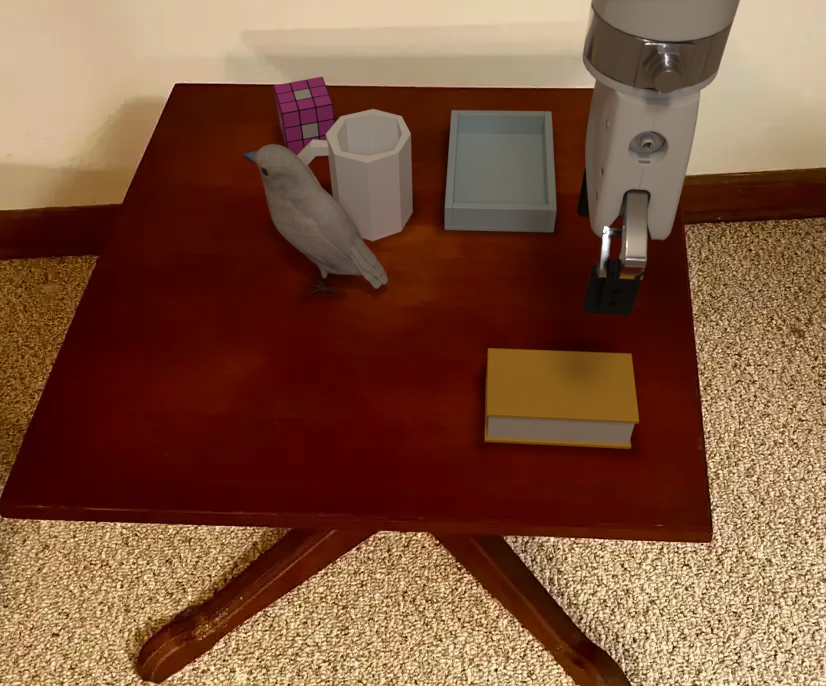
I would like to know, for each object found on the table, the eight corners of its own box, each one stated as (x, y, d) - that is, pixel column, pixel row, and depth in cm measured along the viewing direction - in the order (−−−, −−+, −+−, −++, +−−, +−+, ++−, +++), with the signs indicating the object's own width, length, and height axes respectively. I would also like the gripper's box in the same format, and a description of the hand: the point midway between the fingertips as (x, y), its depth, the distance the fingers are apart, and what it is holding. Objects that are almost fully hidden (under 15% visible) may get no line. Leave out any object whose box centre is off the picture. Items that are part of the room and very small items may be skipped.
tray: (548, 133, 99) (551, 110, 97) (553, 232, 89) (556, 210, 86) (451, 132, 100) (451, 109, 98) (444, 230, 90) (444, 207, 88)
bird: (275, 248, 90) (252, 124, 78) (397, 279, 86) (391, 154, 74) (253, 279, 87) (225, 156, 75) (378, 314, 83) (368, 189, 71)
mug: (414, 187, 94) (412, 108, 87) (410, 241, 89) (408, 163, 81) (304, 186, 96) (293, 109, 88) (294, 240, 90) (281, 162, 83)
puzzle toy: (280, 127, 103) (273, 84, 98) (327, 118, 103) (322, 75, 99) (288, 156, 99) (281, 113, 95) (337, 147, 100) (332, 104, 95)
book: (623, 382, 76) (631, 353, 73) (630, 449, 72) (639, 420, 69) (485, 377, 78) (487, 347, 74) (484, 442, 73) (486, 413, 70)
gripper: (751, 134, 43) (669, 357, 56) (704, -39, 53) (645, 184, 67) (594, 129, 43) (551, 351, 57) (579, -41, 54) (546, 180, 67)
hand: (602, 260), depth 62 cm, fingers open, 9 cm apart
